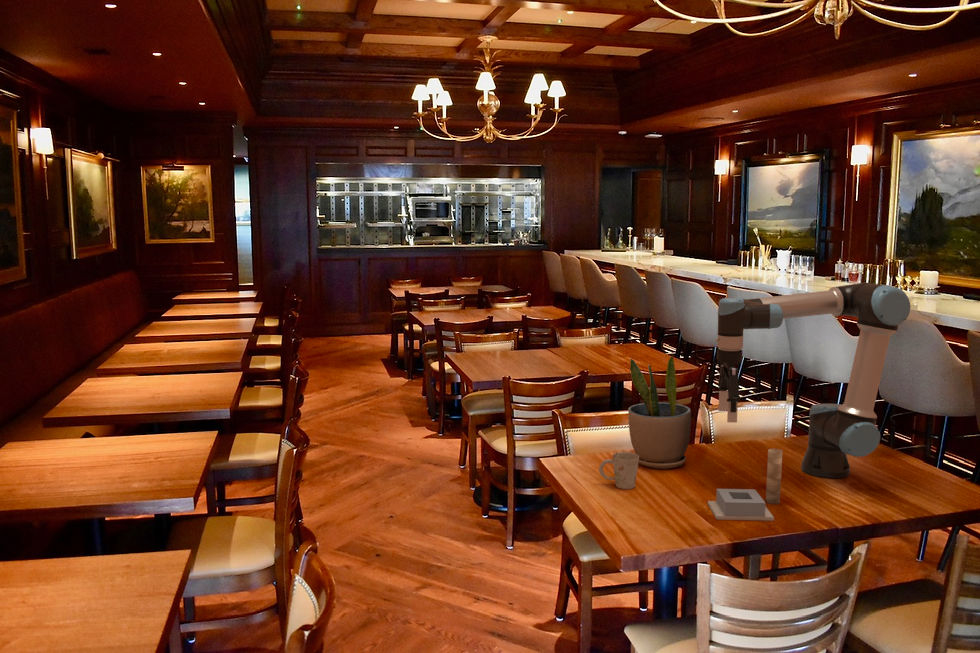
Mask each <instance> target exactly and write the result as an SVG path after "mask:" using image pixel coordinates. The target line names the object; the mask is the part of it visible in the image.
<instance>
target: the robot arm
mask: <svg viewBox="0 0 980 653" xmlns="http://www.w3.org/2000/svg"><path fill="white" fill-rule="evenodd" d="M910 301H911V300H910V298H909V296H908V295H907V293H906V292H905V291H904V290H903V289H901V288H899V287H896V286H893V285H890V284H879V283H873V282H858V283H852V284H851V283H850V284H847V285H846V284H845V285H840V286H839V285H838V286H832V287H830V288H829V289H828V290H821V291H813V292H802V293H795V294H785V295H784V294H783V295H777V296H767V297H757V298H747V299H745V298H738V297H724V298H720V299H719V301H718V308H717V337H716V338H715V341H716V342H717V344H716V345H717V350H716V361H717V362H719V363H720V366H719V368H720V369H719V376H718V382H717V387H718V412H727V419H726V420H727V421H726V422H727V423H738V403H739V402H740V400H741V397H740V387H739V386H740V385H739V368H738V367H736V364H739V363H742V362H743V350H742V349H743V348H744V330H761V329H762V330H763V329H765V330H766V329H767V330H770V329H778V328H780V327H781V326H782V325H783V320H784V319H791V318H792V319H793V318H801V317H811V316H824V315H832V316H834V317H839V316H840V317H841V316H842V317H843V316H844V317H845V316H846V317H847V316H848V317H854V318H857V320H856V325H857V327H858V329H859V330H860V331H859V335H858V341H857V344H856V348H855V353H854V358H853V362H852V366H851V371H850V374H849V375H850V376H849V380H848V385H847V389H846V393H845V398H844V402H843V404H841V403H840V404H839V403H816V404H812V405H811V407H810V409H809V414H808V415H809V418H808V419H809V421H808V422H809V423H808V424H809V425H808V443H807V444H808V445H807V449H806V451H805V453H804V456H803V458H802V461H801V470H802V471H803V472H804V473H805V474H808V475H811V476H814V477H820V478H826V479H842V478H846V477H849V476H850V474H851V467H850V462H849V458H848V455H850V456H852V457H857V458H862V457H866V456H868V455H870V454H871V453H873V452H874V451H876V449H877V448H878V447H879V444H880V441H881V432H880V431H879V429H878V427H877V426H876V424H877V418H878V416H877V414H876V413H875V411H874V408H875V404H876V401H877V395H878V391H879V387H880V382H881V377H882V374H883V369H884V365H885V360H886V356H887V352H888V348H889V343H890V340H891V337H892V336H893V335H895V333H897V332H898V327H899V325H900V324H903V323H904V321H906V320H907V318H908V317H909V316H910V313H911V302H910Z"/></svg>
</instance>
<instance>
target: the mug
mask: <svg viewBox="0 0 980 653" xmlns="http://www.w3.org/2000/svg"><path fill="white" fill-rule="evenodd" d="M606 464H612V465H613V472H614V473H613V474H614V476H607V475H606V474H605V471H604V467H605V466H606ZM638 469H639V456H638V455H637V454H636V453H634V452H630V451H629V452H628V451H619V452H615V453H613V454H612V458H611V459H609V458H607V459H604V460H603V461H602V462H600V464H599V466H598V472H599V474H600V476H601V477H603V478H604V479H605V480H610V481H614V482H615V487H616V488H618V489H620V490H621V489H623V490H632V489H634V488H635V487H636V480H637V473H638Z"/></svg>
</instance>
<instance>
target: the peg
mask: <svg viewBox="0 0 980 653" xmlns="http://www.w3.org/2000/svg"><path fill="white" fill-rule="evenodd" d="M782 465H783V450H782V449H779V448H769V449H768V450H767V466H766V468H767V469H766V470H767V471H766V488H765V503H767V504H770V505H779V504H780V503H781V488H782V487H781V483H782V469H783V467H782Z"/></svg>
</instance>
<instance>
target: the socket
mask: <svg viewBox="0 0 980 653" xmlns="http://www.w3.org/2000/svg"><path fill="white" fill-rule="evenodd" d="M766 503H767V502H766V501H765V500H764V499H763V498H762V496H761V495H760V494H759V493H758V492H757V490H756V489H754V488H753V489H751V488H749V489H747V488H746V489H745V488H743V489H742V488H716V497H715V500H707V506H708V507H709V509H710V511H711V513H712V514H713V516H714V517H715V520H722V521H724V520H727V521H730V520H731V521H765V522H767V521H769V522H770V521H773V522H774V521H775V516H773V514H772V512H770V510H769V509H768V508H767V506H766V505H767V504H766Z"/></svg>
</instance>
